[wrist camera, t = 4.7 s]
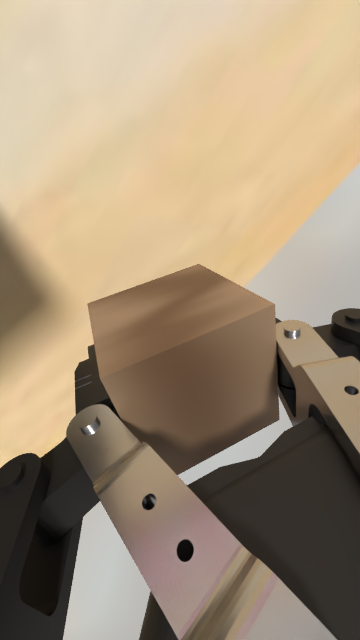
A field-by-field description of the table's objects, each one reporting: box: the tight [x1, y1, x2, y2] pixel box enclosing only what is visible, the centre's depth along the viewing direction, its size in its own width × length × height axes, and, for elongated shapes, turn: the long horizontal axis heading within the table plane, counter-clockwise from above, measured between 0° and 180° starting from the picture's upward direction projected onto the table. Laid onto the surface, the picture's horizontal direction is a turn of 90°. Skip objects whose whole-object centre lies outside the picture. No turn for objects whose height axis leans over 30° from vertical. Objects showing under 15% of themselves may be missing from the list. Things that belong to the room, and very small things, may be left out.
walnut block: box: [88, 264, 279, 475], centre depth 10 cm, size 5×5×5 cm
